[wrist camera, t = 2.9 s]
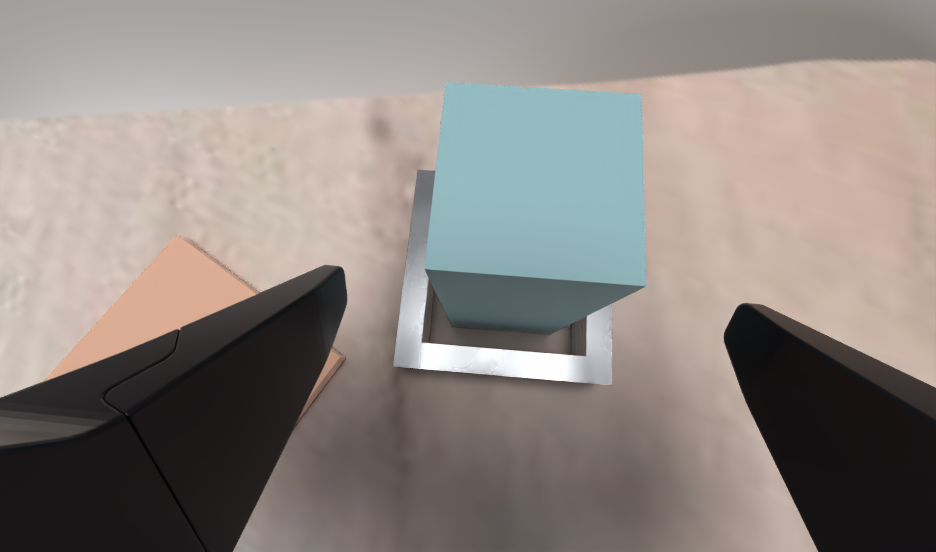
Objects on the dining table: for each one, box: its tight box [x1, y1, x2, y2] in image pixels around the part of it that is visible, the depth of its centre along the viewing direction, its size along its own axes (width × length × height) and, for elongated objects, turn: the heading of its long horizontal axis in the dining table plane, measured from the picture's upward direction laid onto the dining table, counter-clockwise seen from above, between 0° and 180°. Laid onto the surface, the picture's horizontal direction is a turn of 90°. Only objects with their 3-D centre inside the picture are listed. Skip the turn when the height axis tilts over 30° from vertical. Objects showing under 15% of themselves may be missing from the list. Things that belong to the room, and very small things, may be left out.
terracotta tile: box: [43, 235, 345, 422], centre depth 17 cm, size 10×10×1 cm
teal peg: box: [424, 82, 646, 335], centre depth 14 cm, size 4×4×10 cm
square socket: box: [393, 170, 612, 385], centre depth 17 cm, size 8×8×2 cm
